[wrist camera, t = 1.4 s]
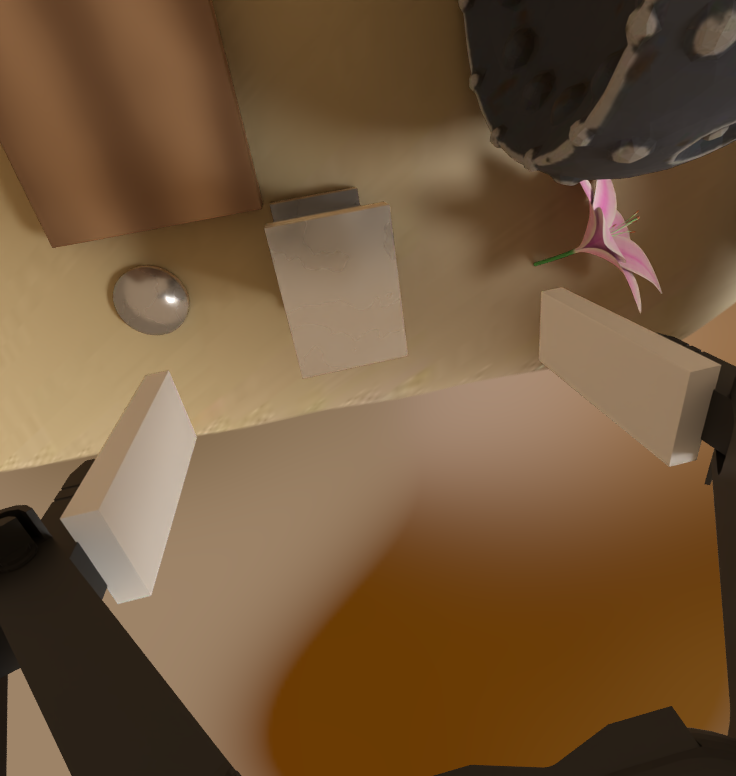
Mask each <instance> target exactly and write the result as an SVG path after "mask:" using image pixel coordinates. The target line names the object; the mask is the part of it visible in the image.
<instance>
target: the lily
mask: <svg viewBox="0 0 736 776" xmlns="http://www.w3.org/2000/svg"><path fill="white" fill-rule="evenodd" d="M579 183H580V184H581V186H582V188H583V190H584V192H585V194H586V196H587V198H588V201H589V206H590V213H589V221H588V224H587V228H586V231H585V234H584V237H583V240H582V242H581V244H580V246H579V247H577V248H575V249H573V250H571V251H568V252H566V253H563V254H560V255H557V256H554V257H551V258H548V259H545V260H542V261H538V262H535V263H534V266H538V265H541V264H544V263H548V262H551V261H554V260H557V259H560V258H563V257H566V256H569V255H572V254H575V253H578V252H587V253H590V254H594V255H596V256H599V257H601V258H604V259H606V260H607V261H609V262H611V263H613V264H614V265H615V266H617V267H618V268H619V269H620V270H621V271H622V273H623V274H624V276H625V278H626V280H627V282H628V284H629V286H630V289H631V291H632V294H633V296H634V299H635V302H636V304H637V307H638V310H639V312H640V313H641V298H640V293H639V288H638V285H637V282H636V279H635V277H634V275H633V274H632V272H634V273H636V274H638V275H640V276H642V277H644V278H646V279H647V280H649V281H650V282H652V283H653V284H654V285H655V286H656V287H657V289H658V290H659V291H660V293H661V294H662V291H661V288H660V285H659V282H658V279H657V277H656V275H655V272H654V270H653V268H652V266H651V264H650V262H649V260H648V258H647V256H646V255H645V253H644V252H643V251H642V249H641V248H640V247H639V246H638V245H637V244H636V243H635V242H633V241H632V240H630V234H629V232H630V233H634V232H635V231H629V230H628V227H627V225H629V224H632V223H634V222H636V221H637V219H639V218H640V217H639V216H637V218H635V219H634V220H632V221H630V222H629V223H627V224H626V223H625V222H627V221H628V220H629V219H631V218H632V217H633V216H634V215H636V214H637V212H638V211H639V210H638V211H637V212H636V213H635V214H634V215H633V216H632V217H631V218H629V219H628V220H627V221H624V219H623V217H622V215H621V214H620V213H619V212H618V211H617V210H616V209H617V201H616V193H615V190H614V186H613V183H612V181H611V179H603V180H597V183H596V190H595V196H594V192H593V189H592V186H591V184H590V183H589V181H588V180H583V181H581V182H579ZM635 220H636V221H635ZM631 271H632V272H631Z"/></svg>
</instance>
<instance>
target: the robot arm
mask: <svg viewBox="0 0 736 776" xmlns="http://www.w3.org/2000/svg"><path fill="white" fill-rule="evenodd" d="M539 361H540V362H541V363H542V364H544V365H545V366H546V367H547V368H549V369H550V370H551V371H552V372H554V373H555V374H556V375H557V376H558V377H560V378H561V379H562V380H563V381H565V382H566V383H567V384H568V385H570V386H571V387H572V388H573V389H574V390H576V391H577V392H578V393H580V394H581V395H582V396H583V397H584V398H585V399H587V400H588V401H589V402H590V403H592V404H593V405H594V406H595V407H597V408H598V409H599V410H600V411H601V412H603V413H604V414H605V415H606V416H608V417H609V418H610V419H611V420H612V421H614V422H615V423H616V424H617V425H619V426H620V427H621V428H622V429H624V430H625V431H626V432H627V433H628V434H630V435H631V436H632V437H633V438H635V439H636V440H637V441H638V442H639V443H641V444H642V445H643V446H644V447H646V448H647V449H648V450H649V451H651V452H652V453H653V454H655V456H657V457H658V458H659V459H660V460H662V461H663V462H664V463H665V464H667V465H668V466H673V465H678V464H681V463H686V462H689V461H693V460H696V459H697V456H698V452H699V448H700V445H701V441H702V440H703V441H705V442H706V443H708V444H709V445H710V446H712V447H713V448H715V449H714V452H713V456H712V459H711V463H710V466H709V470H708V474H707V478H706V481H705V484H707V485H710V484H711V481H712V480H713V492H714V506H715V517H716V530H717V544H718V557H719V569H720V583H721V595H722V608H723V621H724V634H725V645H726V646H725V647H726V659H727V670H728V671H727V672H728V685H729V697H730V725H729V730H728V736H726V735H723V734H719V733H716V732H712V731H707V730H701V729H694V728H687V727H686V726H685V724H684V723H683V721H682V720H681V719H680V717H679V716H678V714H677V713H676V711H675V710H674V709H673V707H672V706H670V707H667V708H663V709H660V710H656V711H653V712H649V713H646V714H643V715H639V716H636V717H633V718H629V719H625V720H622V721H619V722H615V723H612V724H608V725H607V726H606V727H604V728H603V729H602V730H600V731H599V732H598V733H596V734H595V735H594V736H592V737H591V738H590V739H588V740H587V741H586V742H584V743H583V744H582V745H580V746H579V747H578V748H576V749H575V750H574V751H572V752H571V753H570V754H568V755H567V756H566V757H564V758H563V759H562V760H560V761H559V762H558V763H556V764H555V765H553V766H550V767H545V768H537V767H511V766H484V765H469V766H465V767H462V768H458V769H455V770H452V771H448V772H445V773H442V774H438V775H435V776H736V366H734V365H731V364H729V363H727V362H725V361H723V360H721V359H718V358H717V357H714V356H712V355H710V354H708V353H706V352H701V350H700V349H698V348H696V347H694V346H689V344H687V343H685V342H683V341H681V340H679V339H677V338H675V337H671V336H667V335H663V334H659V333H655V332H653V331H651V330H649V329H647V328H645V327H643V326H640V325H638V324H636V323H634V322H632V321H630V320H628V319H626V318H624V317H622V316H620V315H618V314H616V313H614V312H612V311H610V310H608V309H606V308H604V307H601V306H599V305H597V304H595V303H593V302H591V301H589V300H587V299H585V298H583V297H581V296H579V295H577V294H575V293H573V292H571V291H569V290H567V289H565V288H563V287H559V288H555V289H550V290H545V291H541V313H540V340H539ZM196 438H197V436H196V434H195V431H194V429H193V426H192V424H191V422H190V419H189V417H188V415H187V412H186V410H185V407H184V405H183V403H182V400H181V398H180V396H179V393H178V391H177V388H176V386H175V384H174V381H173V379H172V377H171V374H170V372H169V370H167V371H163V372H158V373H153V374H149V375H145V377H144V379H143V380H142V382H141V384H140V385H139V387H138V389H137V390H136V392H135V394H134V395H133V397H132V399H131V400H130V402H129V404H128V405H127V407H126V409H125V410H124V412H123V414H122V415H121V417H120V419H119V420H118V422H117V424H116V426H115V427H114V429H113V431H112V432H111V434H110V436H109V437H108V439H107V441H106V442H105V444H104V446H103V447H102V449H101V451H100V452H99V454H98V456H97V457H96V459H92V460H87V461H85V462H84V463H83V464H82V465H80V466H79V467H78V468H77V469H76V470H75V471H74V472H73V473H71V474H70V476H69V477H68V479H67V480H66V482H65V483H64V485H63V487H62V488H61V489H62V491H59V493H58V495H57V496H56V497H55V499H54V502H53V503H52V504H51V505H50V507H49V508H48V510H47V511H46V513H45V514H44V516H43V518H42V519H41V520H40V519H39V517H38V516H37V514H36V513H35V512H34V510H33V509H32V508H30V507H28V506H27V505H18V506H12V507H9V508H5V509H2V510H0V776H6V760H7V759H6V758H7V756H6V755H7V754H6V753H7V689H8V688H7V686H8V674H9V673H11V672H13V671H15V670H17V669H19V668H21V670H22V672H23V674H24V676H25V678H26V680H27V682H28V684H29V687H30V689H31V691H32V693H33V695H34V697H35V699H36V701H37V703H38V706H39V707H40V710H41V712H42V714H43V716H44V718H45V720H46V722H47V724H48V727H49V729H50V731H51V733H52V735H53V737H54V739H55V741H56V743H57V746H58V748H59V750H60V752H61V754H62V756H63V758H64V760H65V763H66V765H67V767H68V769H69V771H70V773H71V775H72V776H241V775H240V773H239V772H238V771H236V770H235V769H234V768H233V767H232V765H231V764H230V763H229V762H228V760H227V759H226V758H225V757H224V755H223V754H222V753H221V752H220V750H219V749H218V748H217V747H216V745H215V744H214V743H213V741H212V740H211V739H210V738H209V736H208V735H207V734H206V732H205V731H204V730H203V729H202V727H201V726H200V725H199V723H198V722H197V721H196V720H195V718H194V717H193V716H192V714H191V713H190V712H189V711H188V710H187V708H186V707H185V706H184V704H183V703H182V702H181V700H180V699H179V698H178V697H177V695H176V694H175V693H174V691H173V690H172V689H171V688H170V686H169V685H168V684H167V683H166V681H165V680H164V679H163V677H162V676H161V675H160V674H159V672H158V671H157V670H156V668H155V667H154V666H153V665H152V663H151V662H150V661H149V660H148V659H147V657H146V656H145V654H144V653H143V652H142V651H141V649H140V648H139V647H138V645H137V644H136V643H135V642H134V640H133V639H132V638H131V636H130V635H129V634H128V633H127V631H126V630H125V629H124V628H123V626H122V625H121V624H120V622H119V621H118V620H117V619H116V617H115V616H114V615H113V613H112V612H111V611H110V610H109V608H108V607H107V606H106V605H105V603H104V602H103V601H102V599H103V596H104V594H105V591H106V589H108V590H109V592H110V593H111V595H112V596H113V598H114V599H115V601H116V602H117V603H118V604H119V603H123V602H128V601H131V600H136V599H140V598H144V597H148V596H151V594H152V590H153V587H154V584H155V580H156V577H157V574H158V570H159V567H160V563H161V560H162V556H163V552H164V549H165V546H166V542H167V539H168V535H169V532H170V529H171V525H172V522H173V518H174V515H175V511H176V508H177V504H178V501H179V497H180V494H181V490H182V487H183V483H184V480H185V476H186V473H187V469H188V466H189V463H190V459H191V456H192V452H193V449H194V445H195V442H196Z"/></svg>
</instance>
